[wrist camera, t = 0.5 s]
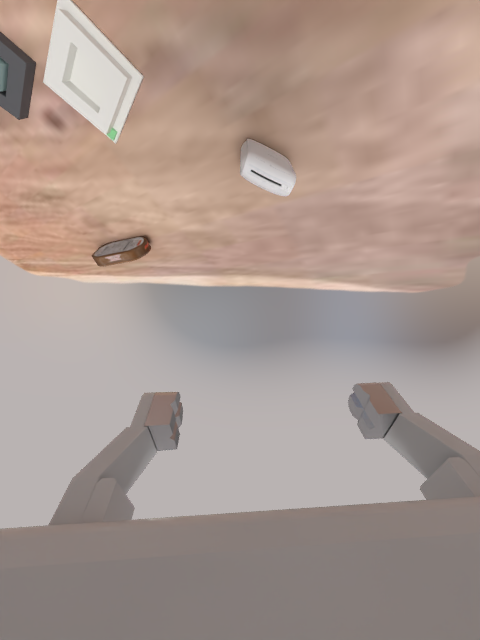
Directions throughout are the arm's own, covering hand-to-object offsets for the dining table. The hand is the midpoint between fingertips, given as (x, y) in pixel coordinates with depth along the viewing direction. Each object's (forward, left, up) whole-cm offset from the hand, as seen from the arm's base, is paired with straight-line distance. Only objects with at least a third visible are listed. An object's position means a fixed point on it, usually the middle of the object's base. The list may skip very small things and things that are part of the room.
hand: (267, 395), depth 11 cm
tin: (+38, -9, -51) cm, 64 cm away
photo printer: (0, +4, -50) cm, 51 cm away
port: (+12, -25, -50) cm, 57 cm away
